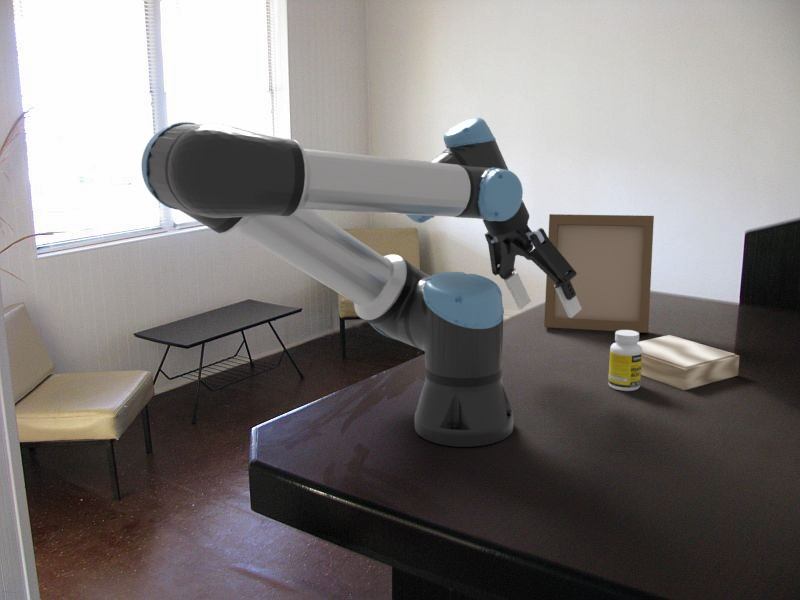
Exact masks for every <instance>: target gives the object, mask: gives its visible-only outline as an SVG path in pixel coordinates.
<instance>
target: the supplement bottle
mask: <svg viewBox="0 0 800 600" xmlns="http://www.w3.org/2000/svg"><path fill="white" fill-rule="evenodd" d="M614 341H615V342H613V343H612V344H611V345H610V346H609V347H610V350H609V363H608V364H609V365H608V385H609V387H610V388H612V389H613V390H616V391H617V390H618V391H623V392H632V391H637V390H639V388H641V381H642V380H641V377H642V375H641V365H642V347H641V346H640V345H639V344H637V343H638V342H640V332H636V331H632V330H619V331H614Z"/></svg>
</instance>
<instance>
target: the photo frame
mask: <svg viewBox="0 0 800 600" xmlns="http://www.w3.org/2000/svg"><path fill="white" fill-rule="evenodd" d="M548 215H549V217H548V219H549V220H548V235H547V237H548V239H549V240H550V241H551V242H552V244H553V245H554V246H555V247H556V248H557V250H558V251H559V252H560V253H561V254H562V256H563V257H564V258H565V259H566V261H567V262H568V263H569V264H570V265H571V267H572V268H573V269H574V270H575V271H576V273H577V275H576V276H575V277H573V278H572V279H571V280H570V281H571V284H572V286H573V288H574V290H575V293H576V297H577V299H578V301H579V304H580V306H581V308H582V309H581V310H580V311H579V312H578V313H577V314H576V315H574V316H573V317H572V318H569V317H568V315H567V313H566V311H565V309H564V307H563V304H562V302H561V300H560V298H559V296H558V294H557V292H556V289H555V287H554V286H555V285H556V283H555V282H554V281H553V280H552V279H551V278H550V277H549V276H548V275H547V274H546V280H545V281H546V283H545V284H546V285H545V302H544V320H543V321H544V323H543V324H544V325H543V327H544V328H555V329H573V330H574V329H575V330H576V329H577V330H592V331H611V332H612V331H613V332H616V331H619V330H632V331H636V332H638V333H645V334H647V333H649V329H650V328H649V327H650V324H649V323H650V303H651V302H650V301H651V285H652V284H651V282H652V264H653V263H652V259H653V242H654V241H653V240H654V239H653V237H654V221H655V220H654V219H655V216H654V215H633V214H632V215H628V214H627V215H626V214H625V215H624V214H623V215H622V214H621V215H620V214H619V215H617V214H616V215H615V214H561V213H560V214H554V213H553V214H552V213H551V214H550V213H549V214H548Z"/></svg>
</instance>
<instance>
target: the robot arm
mask: <svg viewBox="0 0 800 600" xmlns="http://www.w3.org/2000/svg"><path fill="white" fill-rule="evenodd" d="M491 130H492V129H490V127H489V125H488V124H487V122H486V121H485V119H483V118H481V117H473V118H469V119H467V120H464V121H462V122H459V123H458V124H456V125H454V126H452V127H451V128H449V129H448V130H447V131H446V132H445V133H444V135H443V142H444V145H445V150H443V151H442V152H441V153H440V154H437V156H435V157H434V158H432V159H430V161H429V160H428V161H425V160H424V161H422V160H418V159H417V160H414V159H406V158H405V159H404V158H397V157H389V156H388V157H387V156H379V155H376V156H375V155H369V154H368V155H367V154H357V153H349V152H347V153H346V152H340V151H339V152H338V151H337V152H336V151H327V150H318V149H309V148H304V147H303V146H302V145H301V144H300V142H298V141H297V140H296V139H291V138H283V137H276V136H271V135H265V134H262V133H261V134H260V133H256V132H252V131H250V130H245V129H241V128H238V127H234V126H230V125H225V124H219V123H195V122H189V121H188V122H187V121H185V122H184V121H183V122H176V123H173V124H171V125H168V126H165V128H162V129H160V130H159V131H158V132H157V133H155V134H154V135H153V136H151V139H150V140H149V141H148V143H147V144H146V146H145V148H144V149H143V153H142V158H141V174H142V179H143V182H144V184H145V186H146V188H147V190H148V191H149V193H150V194H151V195H152V196H153V197H154V198H155V200H156V201H158V202H159V203H160V204H161V205H163V206H164V207H167V208H169V209H173V210H177V211H180V212H182V213H184V214H185V215H186V216H189V217H190V218H192V219H194V220H196V221H197V222H199V223H200V224H202V225H204V226H205V227H207V228H209V229H211V230H213V231H214V232H216V233H218V234H219V235H225V234H229V233H232V232H237V233H239V234H240V235H241V236H243V237H245V238H247V239H248V240H250V241H252V243H255V244H256V245H258V246H260V247H261V248H263V249H265V250H266V251H268V252H270V253H272V254H273V255H275V256H276V257H278V258H279V259H281V260H284V262H285V263H286V262H287V263H288V264H289V265H291V266H293V267H294V268H296V269H298V270H299V271H301V272H303V273H304V274H307V275H308V276H309V277H311V278H313V279H314V280H316V281H317V282H319V283H321V284H323V285H325V286H326V287H328V288H329V289H331V290H332V291H334V292H336V293H337V294H339V295H341V296H342V297H344V298H345V299H348V300H349V301H350V302H352V303H353V307H354V311H355V313H356V315H357V316H358V317H359V318H360V319H362V320H364V321H365V322H367V323H368V324H370V326H372V327H373V329H375V330H376V331H377V333H380V334H381V335H383V336H385V337H387V338H391V339H393V340H397V341H400V342H402V343H404V344H406V345H408V346H412V347H414V348H417V349H418V350H421V351H423V352H424V363H425V364H424V367H425V368H424V370H425V371H424V372H425V377H424V384H423V386H422V390H421V393H420V396H419V400H418V402H417V407H416V408H415V412H414V430H415V432H416V434H417V435H418V436H419V437H421V439H424V440H426V441H427V442H428V441H429V442H432V443H434V444H438V445H442V446H448V447H449V446H450V447H461V448H462V447H463V448H471V447H472V448H473V447H481V446H487V445H492V444H495V443H499V442H501V441H504V440H505V439H507V438H508V437H509V436H510V435H511V434H512V433H513V430H514V415H513V414H514V413H513V410H512V407H511V404H510V402H509V401H510V400H509V398H508V395H507V393H506V392H507V391H506V388H505V386H504V383H503V382H504V381H503V346H504V344H503V341H504V340H503V339H504V338H503V337H504V314H505V310H504V309H505V308H504V305H503V293H502V289H501V288H500V286H499V285H498V284H497V283H496V282H495V281H493V280H492V279H490V278H488V277H485V276H482V275H480V274H476V273H465V272H462V271H446V272H438V273H435V274H432V275H430V274H428V273H426V272H424V271H422V270H421V269H419V268H418V267H417V266H415V265H414V264H412V263H410V262H409V261H408V260H406V259H405V258H403V257H401V256H400V255H398V254H395V253H394V254H393V253H392V254H387V255H382V254H380V253H379V252H377V251H375V250H374V249H373V248H371V247H370V246H368V245H367V244H366V243H364V242H362V241H361V240H359V239H358V238H356V237H355V236H353V235H352V234H350V233H349V232H348V231H346V230H344V229H343V228H341V227H340V226H338V225H337V224H335V223H334V222H332V221H331V220H329V219H328V218H326V217H325V216H323V215H322V214H321V213H319V212H317V210H318V211H319V210H320V211H336V212H337V211H339V212H354V213H358V212H359V213H372V214H373V213H375V214H376V213H378V214H395V215H405V216H407V217H408V219H410V220H411V221H413V222H415V223H418V224H421V223H425V222H426V221H428V220H431V219H433V218H435V217H449V218H450V217H452V218H458V219H459V218H462V219H463V218H464V219H477V220H478V219H479V220H482V223H483V224H484V227H485V228H486V230H487V232H486V233H484V236H485V240H486V243H487V245H488V252H489V260H490V268H491V272H492V274H493V275H494V276H499V277H500V279H502V280H504V283H505V284H506V287H507V288H508V290H509V292H510V294H511V296H512V298H513V300H514V302H515V304H516V306H517V309H518V310H523V308H525V307H526V306H527V305H529V304H530V303H531V302H532V300H531V299H530V295H529V294H528V292H527V290H526V288H525V286H524V284H523V281H522V279H521V276H520V275H519V274H518V271H517V272H516V270H517V268H515V262H516V257H517V256H520V257H524V258H525V260H527V261H532V262H533V263H534V264H535V265H536V266H537V267H538V268H539V269H540V270H541V271H542V272H543V273H544V274H546V276H547V275H548V276H549V277H550V278H551V279H552V280H553V281H554V282H555V283H556V285H555V286H554V287H555V289H556V292H557V294H558V296H559V298H560V300H561V302H562V304H563V307H564V309H565V311H566V313H567V315H568V317H569V318H572V317H573V316H574V315H576V314H577V313H578V312H579V311H580V310H581V309H582V308H581V306H580V304H579V301H578V299H577V297H576V293H575V290H574V288H573V286H572V284H571V281H570V280H571V279H572V278H573V277H575V276H576V275H577V273H576V271H575V270H574V269H573V268H572V267H571V265H570V264H569V263H568V262H567V261H566V259H565V258H564V257H563V256H562V254H561V253H560V252H559V251H558V250H557V248H556V247H555V246H554V245H553V244H552V242H551V241H550V240H549V239H548V235H547V233H546V232H545V230H544V228H542V227H540V228H538V229H536V230H533V231H532V230H531V229H530V227H529V225H528V223H529V220H530V213H529V211H528V210H527V207H526V205H525V203H524V201H523V194H524V192H523V190H524V189H523V185H522V183H521V180H520V178H519V177H518V176H517V174H516V173H514V172H513V171H512V170H510V169H509V168H508V166H507V164H506V161H505V158H504V157H503V154H502V151H501V150H500V147H499V145H498V142H497V141H496V140H497V139H496V137H495V136H494V134H493V132H492V131H491ZM372 327H371V328H372Z"/></svg>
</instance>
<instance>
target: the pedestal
mask: <svg viewBox="0 0 800 600" xmlns="http://www.w3.org/2000/svg"><path fill="white" fill-rule="evenodd" d="M637 344H639V345H640V346H641V347H642V365H641V376H644V377H646V378H649V379H651V380H655V381H657V382H660V383H663V384H666V385H668V386H671V387H673V388H677V389H679V390H682V391H687V390H691V389H694V388H698V387H701V386H704V385H708V384H712V383H715V382H719V381H723V380H726V379H730V378H734V377H737V376H739V367H740V355H739V354H738V355H737V354H736V353H734V352H730V351H726V350H723V349H719V348H716V347H712V346H709V345H706V344H701V343H700V342H696V341H692V340H688V339H685V338H682V337H678V336H674V335H673V334H668V335H662V336H659V337H654V338H650V339H645V340H639V342H638V343H637Z"/></svg>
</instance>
